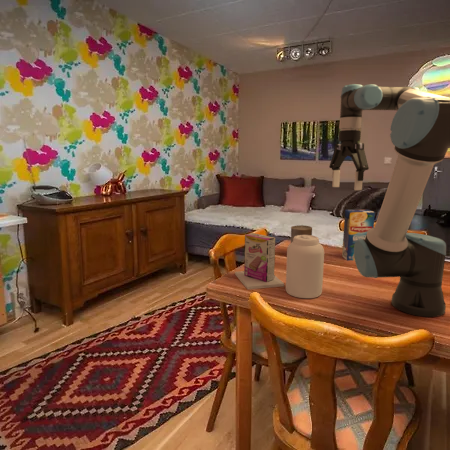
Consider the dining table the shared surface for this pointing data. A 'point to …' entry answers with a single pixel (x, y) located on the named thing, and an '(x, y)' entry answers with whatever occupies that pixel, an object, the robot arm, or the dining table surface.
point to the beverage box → (355, 230)
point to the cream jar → (304, 267)
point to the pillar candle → (300, 231)
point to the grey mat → (257, 281)
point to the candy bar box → (259, 257)
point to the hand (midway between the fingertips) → (346, 188)
